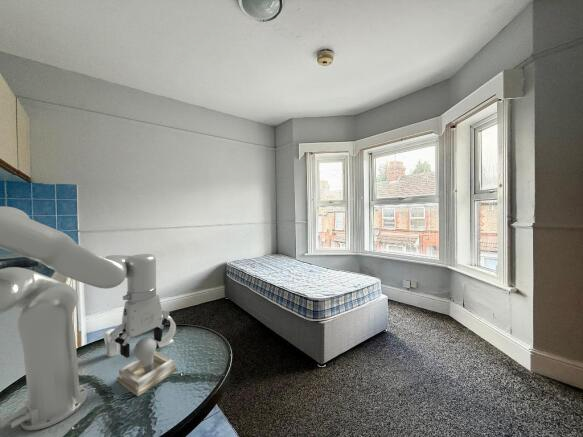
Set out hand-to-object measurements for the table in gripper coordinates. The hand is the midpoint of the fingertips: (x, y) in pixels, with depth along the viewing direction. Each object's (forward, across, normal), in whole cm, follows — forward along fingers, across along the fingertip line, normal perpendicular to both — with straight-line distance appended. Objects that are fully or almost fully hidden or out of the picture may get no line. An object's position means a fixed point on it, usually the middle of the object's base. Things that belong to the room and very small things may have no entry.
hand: (142, 347), depth 74 cm
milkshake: (+10, +1, +21) cm, 24 cm away
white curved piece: (+10, +15, +11) cm, 21 cm away
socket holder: (+10, +1, -1) cm, 10 cm away
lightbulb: (+9, +2, -1) cm, 9 cm away
